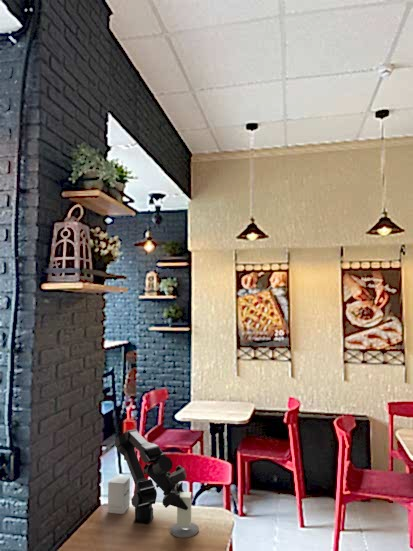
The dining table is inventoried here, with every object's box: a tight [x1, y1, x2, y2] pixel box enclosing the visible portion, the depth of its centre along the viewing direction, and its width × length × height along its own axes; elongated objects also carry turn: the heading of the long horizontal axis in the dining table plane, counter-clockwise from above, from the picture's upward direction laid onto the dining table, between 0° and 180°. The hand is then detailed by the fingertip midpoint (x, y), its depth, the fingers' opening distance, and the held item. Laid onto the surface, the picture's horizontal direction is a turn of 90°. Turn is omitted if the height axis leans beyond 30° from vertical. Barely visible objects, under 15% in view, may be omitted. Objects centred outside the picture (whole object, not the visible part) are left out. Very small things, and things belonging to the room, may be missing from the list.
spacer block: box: [176, 491, 192, 527], centre depth 175 cm, size 5×5×11 cm
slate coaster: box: [169, 522, 200, 539], centre depth 175 cm, size 11×11×1 cm
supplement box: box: [107, 476, 131, 515], centre depth 193 cm, size 7×7×13 cm
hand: (187, 506), depth 175 cm, fingers closed on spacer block, 5 cm apart
